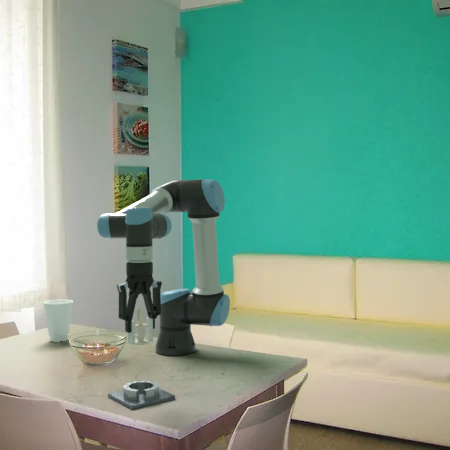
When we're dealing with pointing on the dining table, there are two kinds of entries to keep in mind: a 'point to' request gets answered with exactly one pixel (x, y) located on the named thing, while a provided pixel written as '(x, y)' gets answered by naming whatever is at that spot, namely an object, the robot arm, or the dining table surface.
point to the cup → (58, 318)
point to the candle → (140, 329)
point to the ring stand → (140, 394)
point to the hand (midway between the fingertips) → (140, 341)
